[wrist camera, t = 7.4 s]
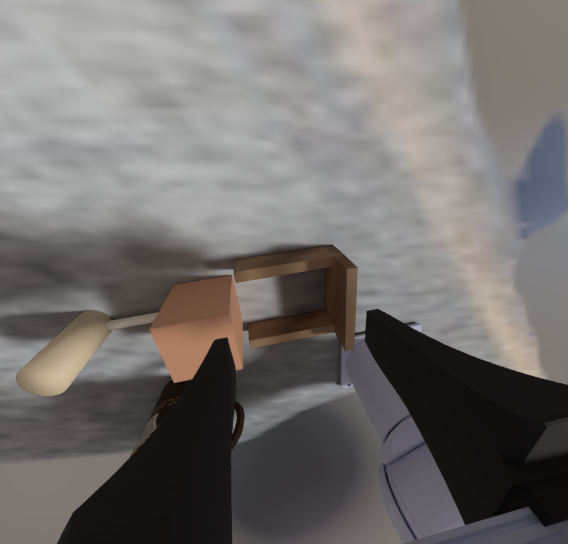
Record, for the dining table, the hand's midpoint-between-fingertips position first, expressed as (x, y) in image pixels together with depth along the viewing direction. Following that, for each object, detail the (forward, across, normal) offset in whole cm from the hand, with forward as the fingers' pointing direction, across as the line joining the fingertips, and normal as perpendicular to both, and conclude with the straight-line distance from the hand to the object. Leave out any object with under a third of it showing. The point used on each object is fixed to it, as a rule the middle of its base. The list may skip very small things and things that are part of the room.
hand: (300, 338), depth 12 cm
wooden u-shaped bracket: (+10, 0, +3) cm, 10 cm away
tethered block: (+10, +11, +3) cm, 15 cm away
